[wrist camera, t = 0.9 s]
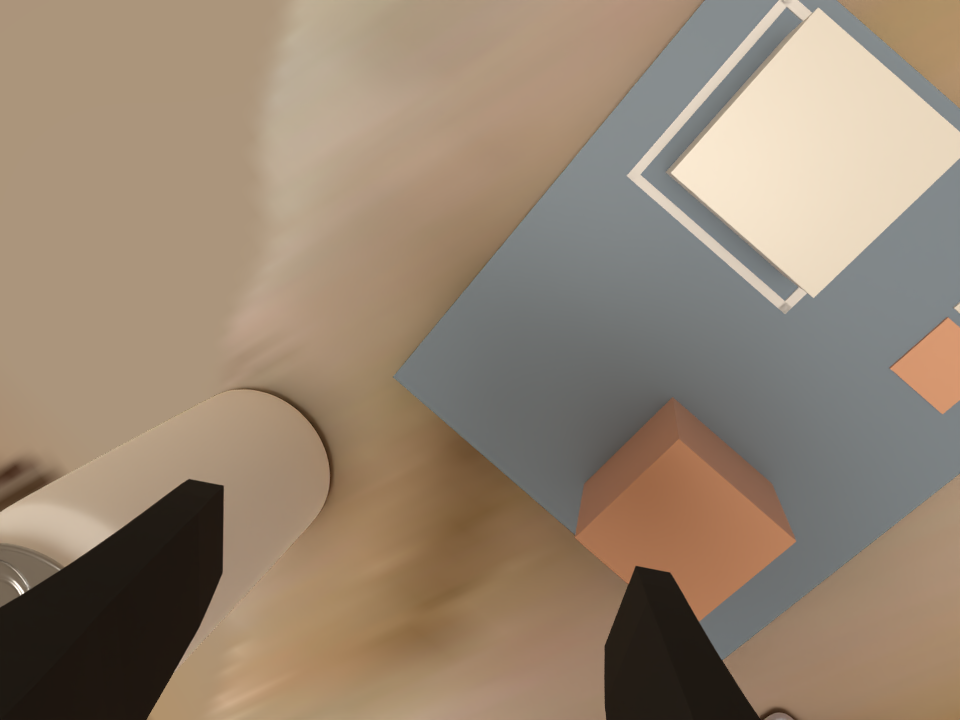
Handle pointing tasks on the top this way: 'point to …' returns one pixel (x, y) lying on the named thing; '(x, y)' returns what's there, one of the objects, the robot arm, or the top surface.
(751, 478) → the terracotta block
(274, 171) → the top surface
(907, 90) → the base block
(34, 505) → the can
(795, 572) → the board
